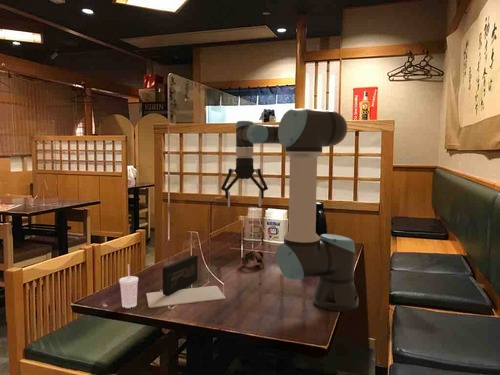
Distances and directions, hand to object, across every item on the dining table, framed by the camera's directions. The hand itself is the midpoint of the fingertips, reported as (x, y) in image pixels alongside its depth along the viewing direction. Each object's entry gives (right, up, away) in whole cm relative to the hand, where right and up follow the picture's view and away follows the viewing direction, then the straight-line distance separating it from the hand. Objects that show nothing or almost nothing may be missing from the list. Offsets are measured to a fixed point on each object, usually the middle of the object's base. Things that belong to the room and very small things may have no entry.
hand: (244, 206), depth 172 cm
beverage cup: (-38, -31, -40) cm, 63 cm away
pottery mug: (+4, -27, +4) cm, 28 cm away
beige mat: (-20, -30, -32) cm, 49 cm away
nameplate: (-23, -29, -24) cm, 44 cm away
